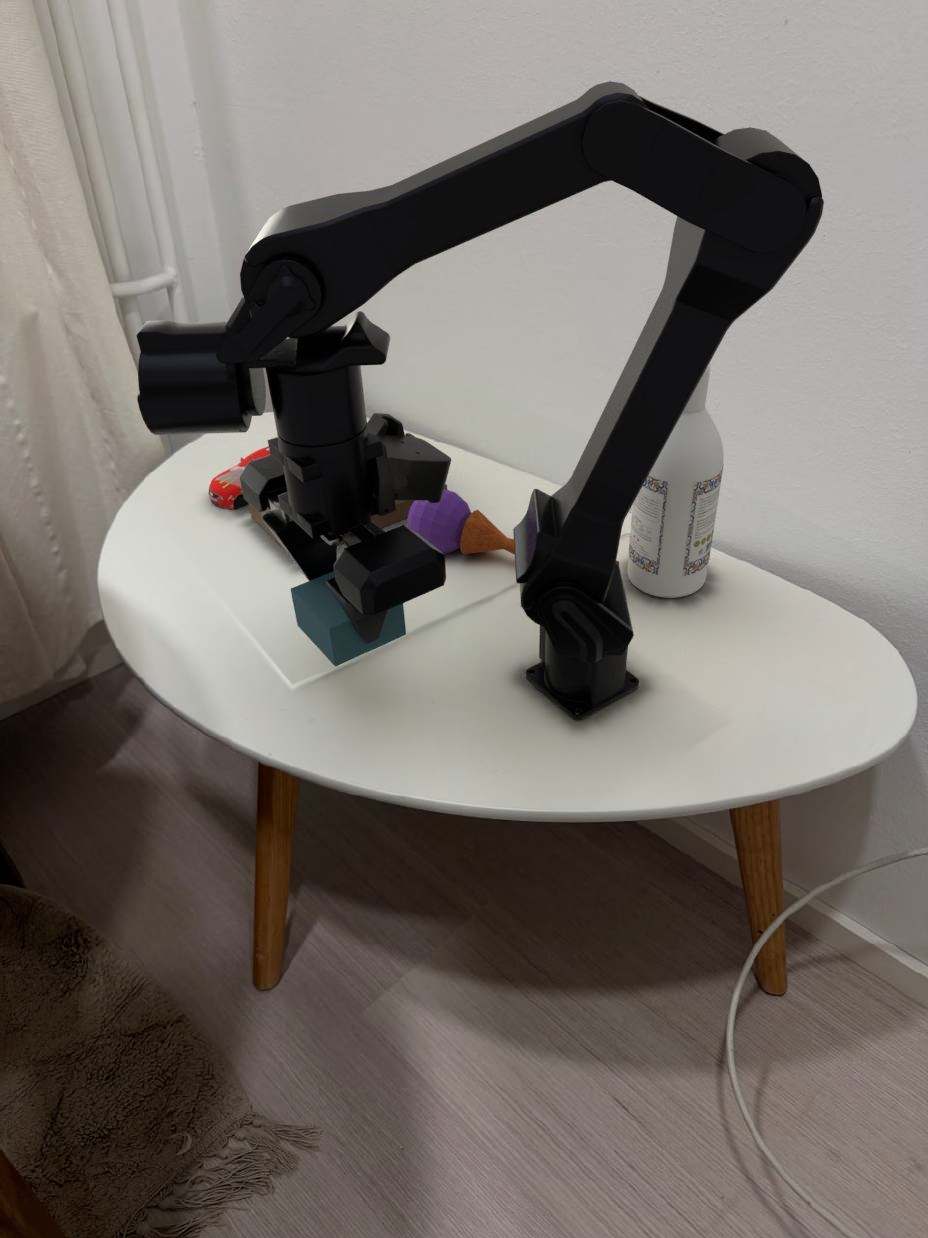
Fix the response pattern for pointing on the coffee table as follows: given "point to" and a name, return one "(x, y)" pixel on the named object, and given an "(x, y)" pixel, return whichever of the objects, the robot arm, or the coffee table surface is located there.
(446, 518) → the purple ice cream cone
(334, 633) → the loose pad
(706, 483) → the bath foam
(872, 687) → the coffee table surface
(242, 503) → the race car
